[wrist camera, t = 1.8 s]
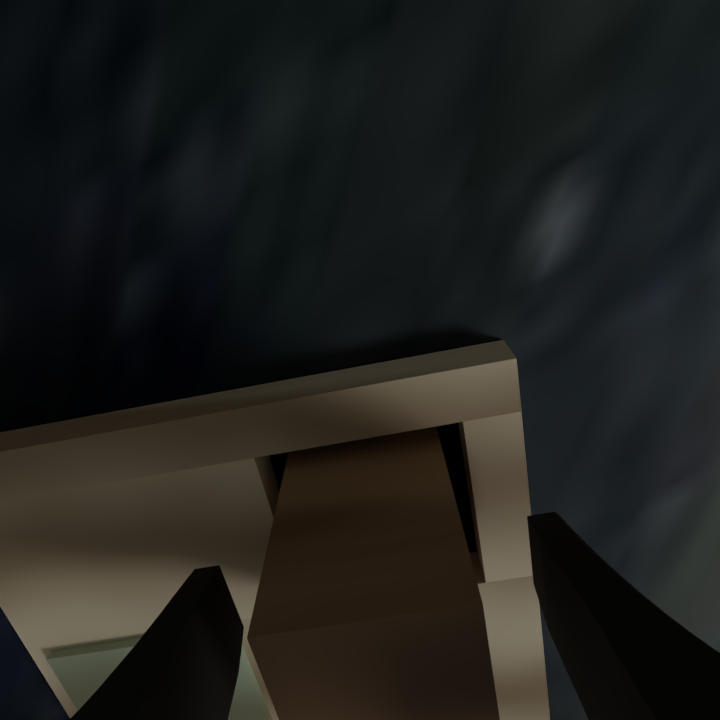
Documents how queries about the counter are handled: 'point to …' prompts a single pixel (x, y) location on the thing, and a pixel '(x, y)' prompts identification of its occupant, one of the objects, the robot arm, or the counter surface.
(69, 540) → the board
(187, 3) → the counter surface
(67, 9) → the counter surface
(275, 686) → the peg
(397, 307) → the counter surface
